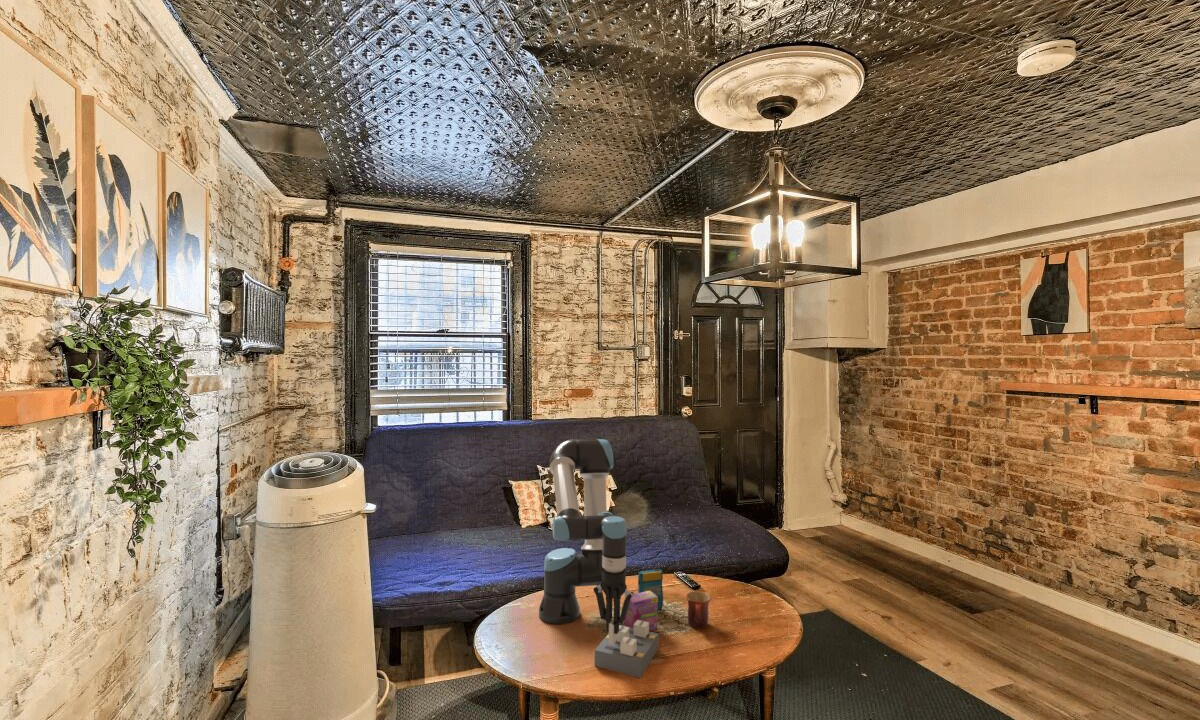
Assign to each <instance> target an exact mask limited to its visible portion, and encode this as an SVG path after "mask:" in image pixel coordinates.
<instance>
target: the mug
mask: <svg viewBox="0 0 1200 720" xmlns="http://www.w3.org/2000/svg"><path fill="white" fill-rule="evenodd" d="M685 596H686V602H687V622H688V625H689V626H690V627H692V628H693V627H694V629H699V630H700V629H701V630H702V629H705V628H706V627H707V626H708V624H709V620H710V619H709V613H710V612H709V608H710V607H709V606H710V602H711V598H712V597H711V596H710V594H708V593H706V592H704V591H697V590H695V591H689V592H688V593H686V595H685Z"/></svg>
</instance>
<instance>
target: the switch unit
mask: <svg viewBox="0 0 1200 720" xmlns="http://www.w3.org/2000/svg"><path fill="white" fill-rule="evenodd" d="M620 625H621V626H623V625H622V624H620ZM624 626H625V625H624ZM625 627H627V626H625ZM629 637H630V638H633V639H637V650H636V652H635V654H634V655H633V656H629V655H625V654H621V653H620V642H617V641H616V642H615V643H614V645H610V644H609V633H607V635H606V636H605V637H604V638H603V639H602V641H601V642H599V645H597V647H596V648H595V650H594V667H596V668H597V667H598V668H600V669H605V670H609V671H613V672H616V673H620V674H625V675H626V676H627V675H628V676H631V677H634V678H639V679H641V677H643V674H644V673H645V672H646V670H647V668H648V667H649V665H650V664H651V661H652V660H653V658H654V656H655V655H656V654H657V651H658V650H659V633H656V632H652V631H649V633H648V635H647V636H646V638H643V637H639V636H635V635H634V628H631V627H629Z"/></svg>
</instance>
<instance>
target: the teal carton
mask: <svg viewBox="0 0 1200 720" xmlns="http://www.w3.org/2000/svg"><path fill="white" fill-rule="evenodd" d="M663 578H664V572H663V570H662V569H658V568H657V569H651V570H650V569H649V570H643V571H639V572H638V574H637V581H638V582H637V586H638V587H637V591H638V592H637V593H641V592H645V591H649V590H650V591H651V592H652V593H654V594H655V595H656V596H657V597H658V604H657V613H659V612H658V611H661V612H662V611H663V608H664V607H663V605H664V591H663V580H664V579H663Z"/></svg>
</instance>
